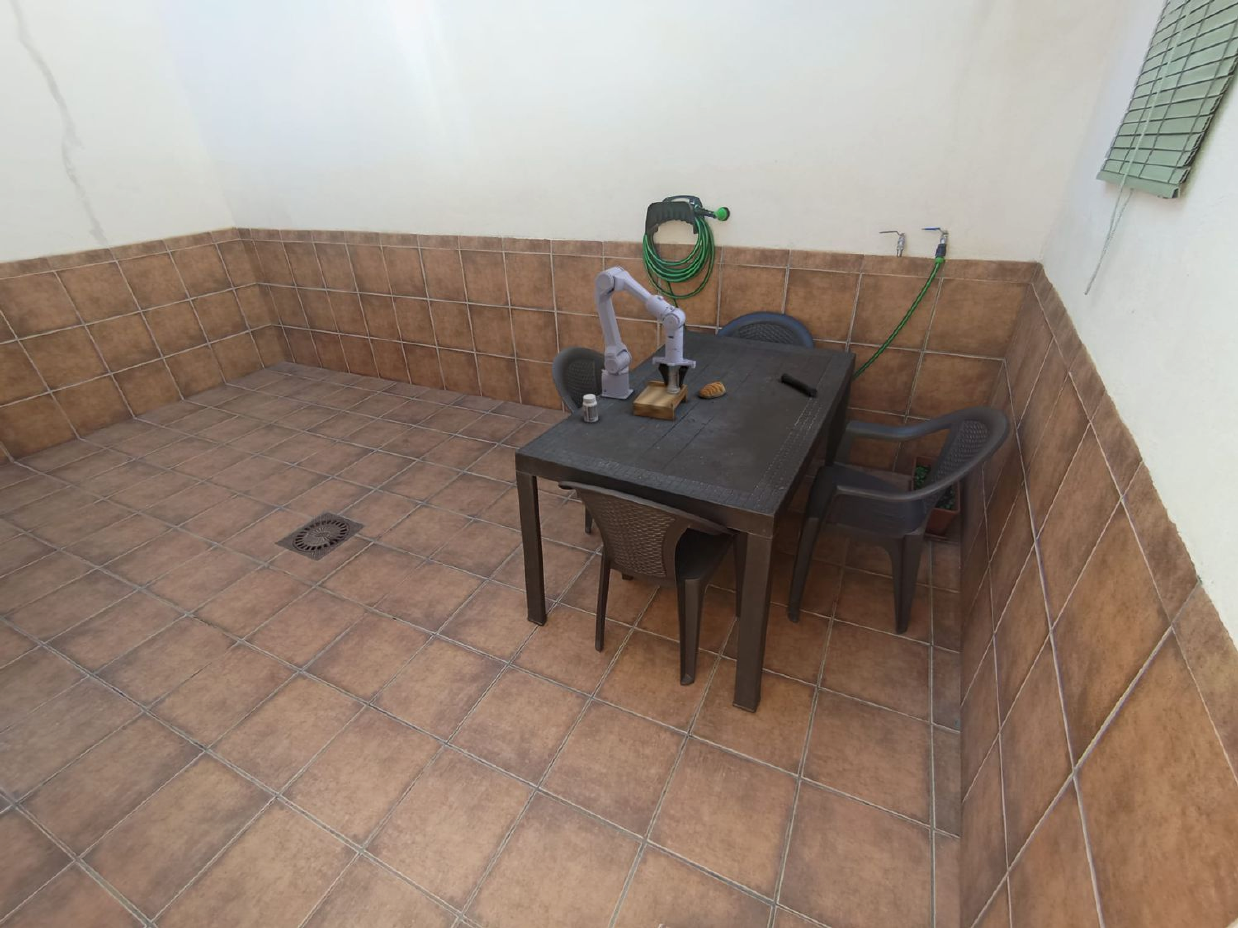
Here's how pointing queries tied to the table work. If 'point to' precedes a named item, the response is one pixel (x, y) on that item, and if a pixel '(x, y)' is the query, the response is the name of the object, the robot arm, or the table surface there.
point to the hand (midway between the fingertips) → (673, 385)
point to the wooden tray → (658, 401)
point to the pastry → (712, 390)
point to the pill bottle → (590, 408)
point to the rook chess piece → (673, 382)
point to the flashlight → (798, 384)
